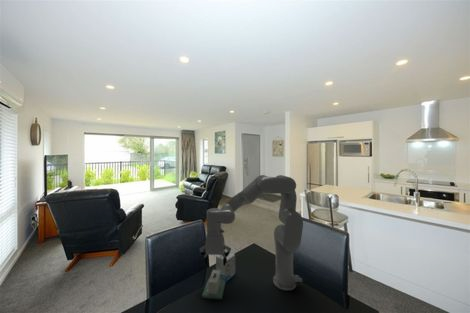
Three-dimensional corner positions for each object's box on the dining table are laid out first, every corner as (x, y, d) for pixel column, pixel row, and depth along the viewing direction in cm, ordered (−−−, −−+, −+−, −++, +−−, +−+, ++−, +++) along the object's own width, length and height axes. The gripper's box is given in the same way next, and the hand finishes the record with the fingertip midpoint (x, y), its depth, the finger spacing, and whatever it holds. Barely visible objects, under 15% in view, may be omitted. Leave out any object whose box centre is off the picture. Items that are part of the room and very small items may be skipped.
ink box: (226, 282, 97) (226, 258, 97) (215, 275, 102) (215, 253, 102) (235, 273, 103) (235, 251, 104) (225, 268, 109) (224, 247, 109)
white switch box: (220, 281, 96) (220, 269, 96) (216, 294, 86) (216, 281, 86) (212, 280, 96) (213, 268, 96) (208, 293, 87) (208, 280, 87)
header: (225, 282, 97) (225, 272, 97) (221, 299, 85) (221, 288, 85) (208, 280, 98) (208, 270, 98) (202, 297, 86) (201, 286, 86)
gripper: (231, 229, 94) (232, 260, 94) (200, 229, 96) (202, 259, 96) (229, 235, 87) (230, 269, 87) (196, 235, 89) (198, 268, 89)
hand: (215, 264), depth 91 cm, fingers open, 9 cm apart
